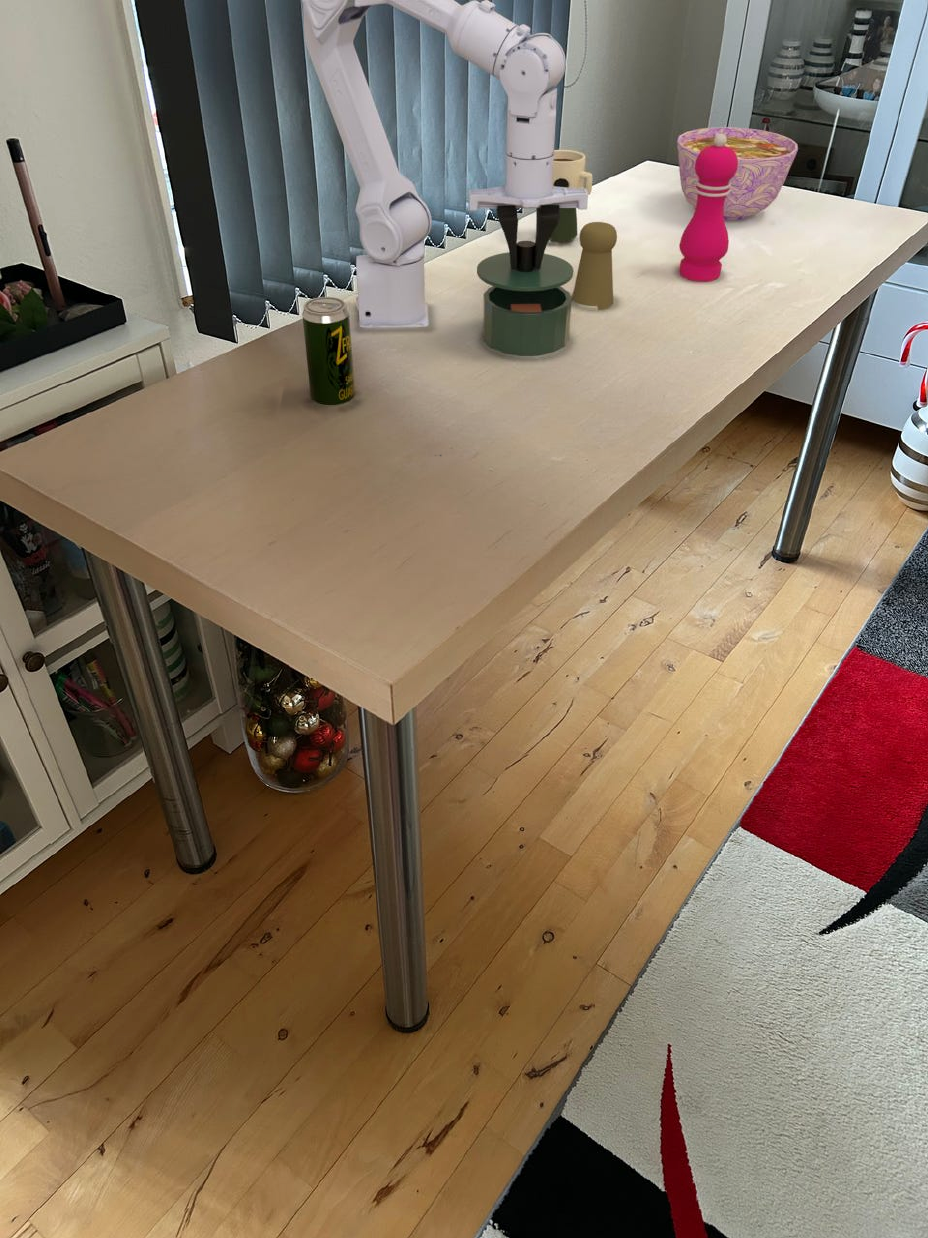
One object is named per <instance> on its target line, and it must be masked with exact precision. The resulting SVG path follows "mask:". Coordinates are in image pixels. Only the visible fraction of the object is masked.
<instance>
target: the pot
mask: <svg viewBox="0 0 928 1238" xmlns="http://www.w3.org/2000/svg"><path fill="white" fill-rule="evenodd" d="M482 300H483V301H482V302H483V307H482V308H483V309H482V310H483V311H482V337H483V342H484V343H485V344H486V345H487V346H488V347H489V348H490V349H492V350H495V351H497V352H500V353H502V354H505V355H511V356H519V357H539V356H543V355H544V356H545V355H548V354H549V355H550V354H553V353H555V352H557V351H559V350H561V349H563V348H565V347H566V345H567V344H568V342H569V340H570V327H571V316H572V315H571V314H572V313H571V312H572V296H571V293H570V292H569V291H568V290H566V288H563V287H562V286H560V287H557V288H553V289H548V290H542V291H514V290H507V289H502V288H498V287H494V286H492V285H491V286H490V287H488V288H487V289H486V291H484V293H483V299H482ZM511 304H540V306H541V309H542V312H518V311H511V310H510V305H511Z"/></svg>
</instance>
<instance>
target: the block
mask: <svg viewBox="0 0 928 1238" xmlns="http://www.w3.org/2000/svg"><path fill="white" fill-rule="evenodd" d="M510 310H511V311H518V312H542V309H541V306H540V304H511V305H510Z"/></svg>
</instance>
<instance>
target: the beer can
mask: <svg viewBox="0 0 928 1238" xmlns="http://www.w3.org/2000/svg"><path fill="white" fill-rule="evenodd" d="M302 306H303V310H302V313H301V315H302V316H301V317H302V325H303V333H304V344H305V355H306V364H307V374H308V383H309V393H310V399H311V401H312V402H313V403H315V404H316V405H319V406H321V407H329V408H332V407H340V406H345V405H347V404H350V402H352V401H353V400H354V398H355V396H356V391H355V390H356V389H355V388H356V387H355V375H354V374H355V373H354V361H353V350H352V348H353V347H352V336H351V335H352V333H351V323H350V322H351V321H350V312H349V309H348V307H347V302H346V301H345V300H344V299H342V298H339V297H334V296H319V297H314V298H311V299H309V300H307V301H306V302H304V303H303V304H302Z"/></svg>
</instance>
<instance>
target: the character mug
mask: <svg viewBox="0 0 928 1238" xmlns="http://www.w3.org/2000/svg"><path fill="white" fill-rule="evenodd" d="M586 161H587V160H586V155H585V154H584V153H583V152H581V151H577V150H573V149H572V150H571V149H554V158H553V176H552V186H555V187H565V188H578V189H586V190H587V192H588V196H589V195H591V193H592V189H593V174H592V173H591V172H587V171H586ZM584 185H585V187H584ZM559 212H560V219H559V222H558V224H557V226H556V227H555V229H554V231H553V233H552V235H551V237H550V242H552V243H567V242H570V241H573V239H575V238H576V237H578V214H577V208H559Z"/></svg>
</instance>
